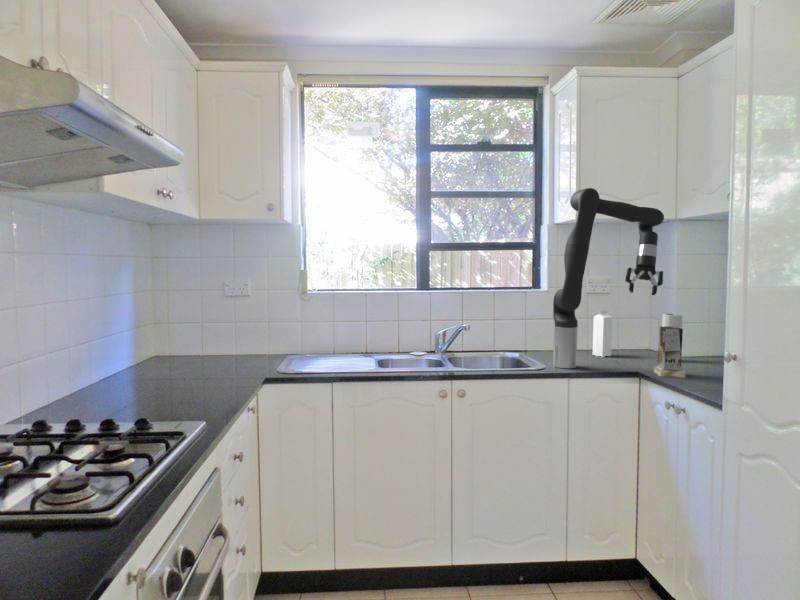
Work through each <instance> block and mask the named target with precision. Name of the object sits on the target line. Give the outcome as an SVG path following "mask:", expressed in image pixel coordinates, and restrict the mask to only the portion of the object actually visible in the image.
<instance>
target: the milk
mask: <svg viewBox="0 0 800 600" xmlns="http://www.w3.org/2000/svg"><path fill="white" fill-rule="evenodd" d="M592 329H593V330H592V356H593V355H595V356H594V357H598V356H601V357H600V358H606V357H605V356H609V357H612V342H613V341H612V339H613V337H612V335H613V334H612V333H613V316H612V315H610V313H608V310H607V309H601V310H600V309H599V310H598V314H596V315H594V316H593V328H592Z"/></svg>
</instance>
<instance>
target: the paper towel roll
mask: <svg viewBox="0 0 800 600" xmlns="http://www.w3.org/2000/svg"><path fill="white" fill-rule="evenodd" d="M661 318H662V322H661V324H662V325H661V327H665V326H671V327H678V328H681V329H683V315H682V314H675V313H662V317H661Z"/></svg>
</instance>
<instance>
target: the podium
mask: <svg viewBox="0 0 800 600" xmlns="http://www.w3.org/2000/svg"><path fill="white" fill-rule="evenodd" d="M653 372H654V373H655V374H656V375H658V376H659V377H662V378H663V377H664V378H682V379H683V378H684V379H685V378H686V375H687V371H686V370H685V369H683V368H681V370H671V369H663V368H662V367H660V366H658V365H654V367H653Z"/></svg>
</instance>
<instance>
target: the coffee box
mask: <svg viewBox="0 0 800 600" xmlns="http://www.w3.org/2000/svg"><path fill="white" fill-rule="evenodd" d="M683 331H684V330H683V328H682V329H681V328H678V327H671V326H665V327H662V326H658V342H657V344H658V345H657V366H660V367H662V368H663V369H671V370H681V369H682V353H683V352H682V350H683V334H684V333H683Z"/></svg>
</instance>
